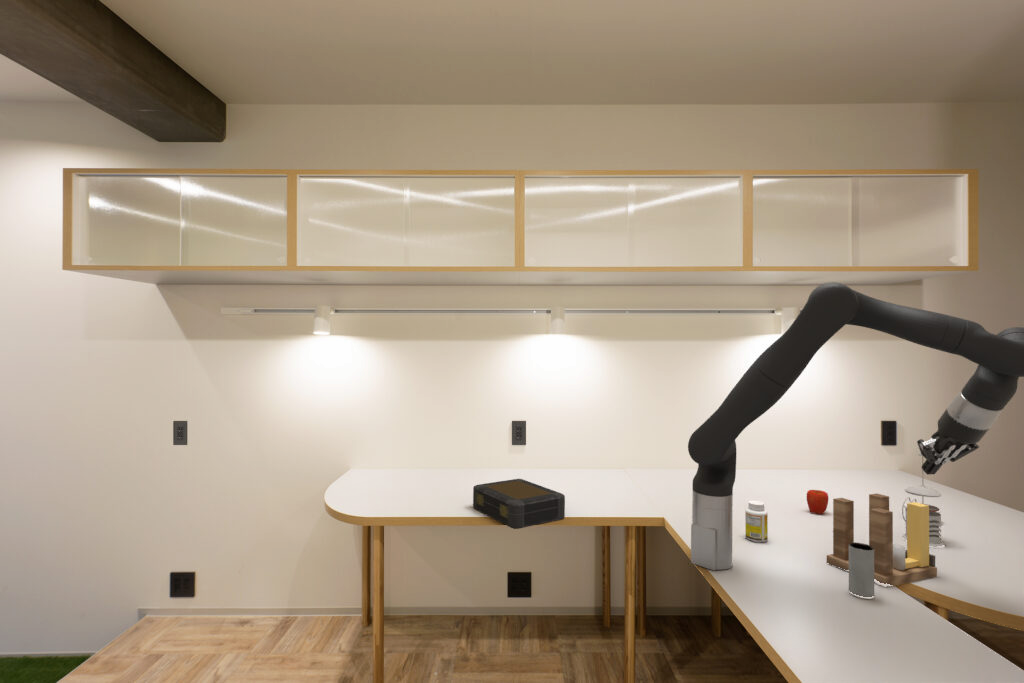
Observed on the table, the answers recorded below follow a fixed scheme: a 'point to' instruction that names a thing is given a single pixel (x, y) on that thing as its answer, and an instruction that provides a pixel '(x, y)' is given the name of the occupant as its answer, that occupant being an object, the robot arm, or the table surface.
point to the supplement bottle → (756, 522)
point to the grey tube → (861, 569)
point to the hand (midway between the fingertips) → (927, 471)
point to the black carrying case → (518, 503)
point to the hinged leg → (914, 539)
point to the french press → (933, 515)
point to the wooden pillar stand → (873, 541)
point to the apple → (817, 501)
